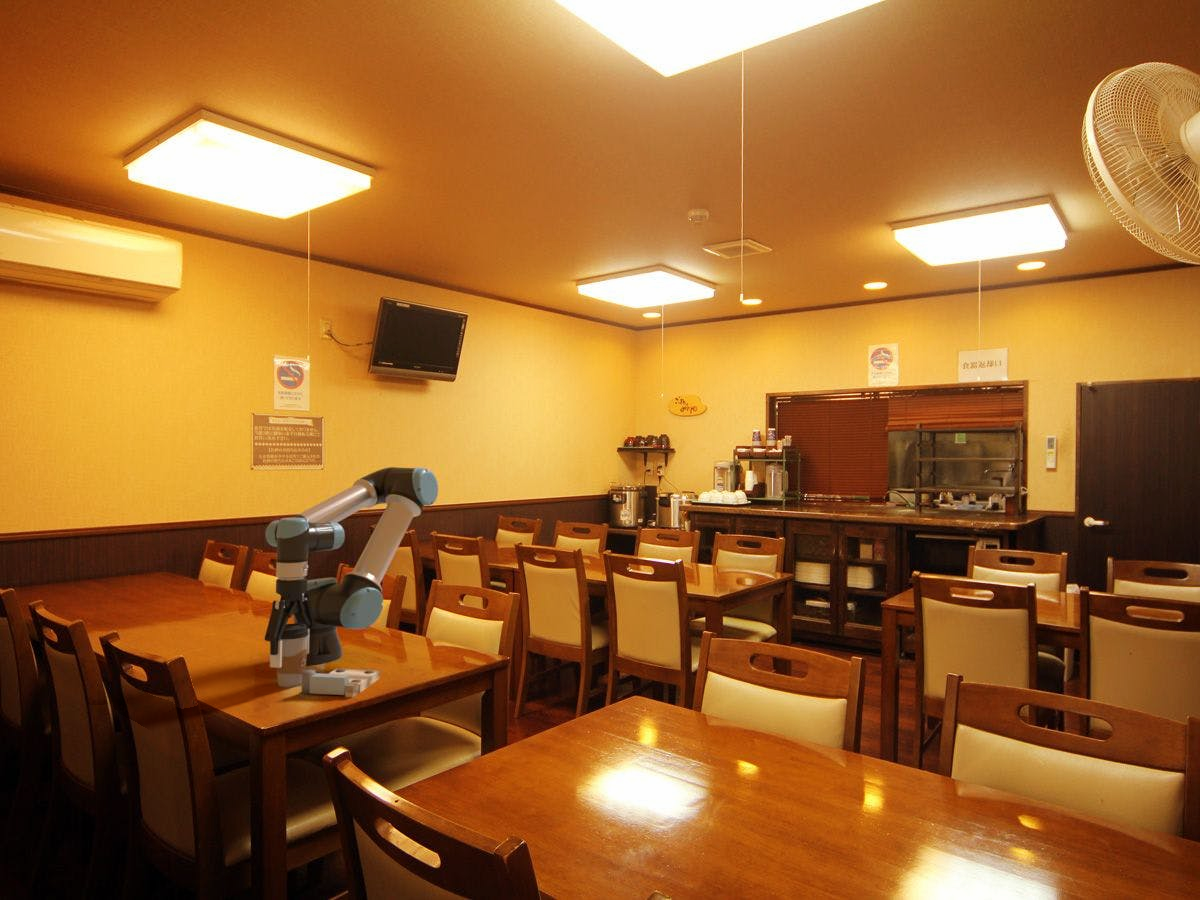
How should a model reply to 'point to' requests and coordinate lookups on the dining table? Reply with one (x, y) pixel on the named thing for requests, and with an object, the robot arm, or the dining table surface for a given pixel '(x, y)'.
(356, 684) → the seat panel
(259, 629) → the dining table surface
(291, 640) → the coffee cup
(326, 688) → the leg bar
